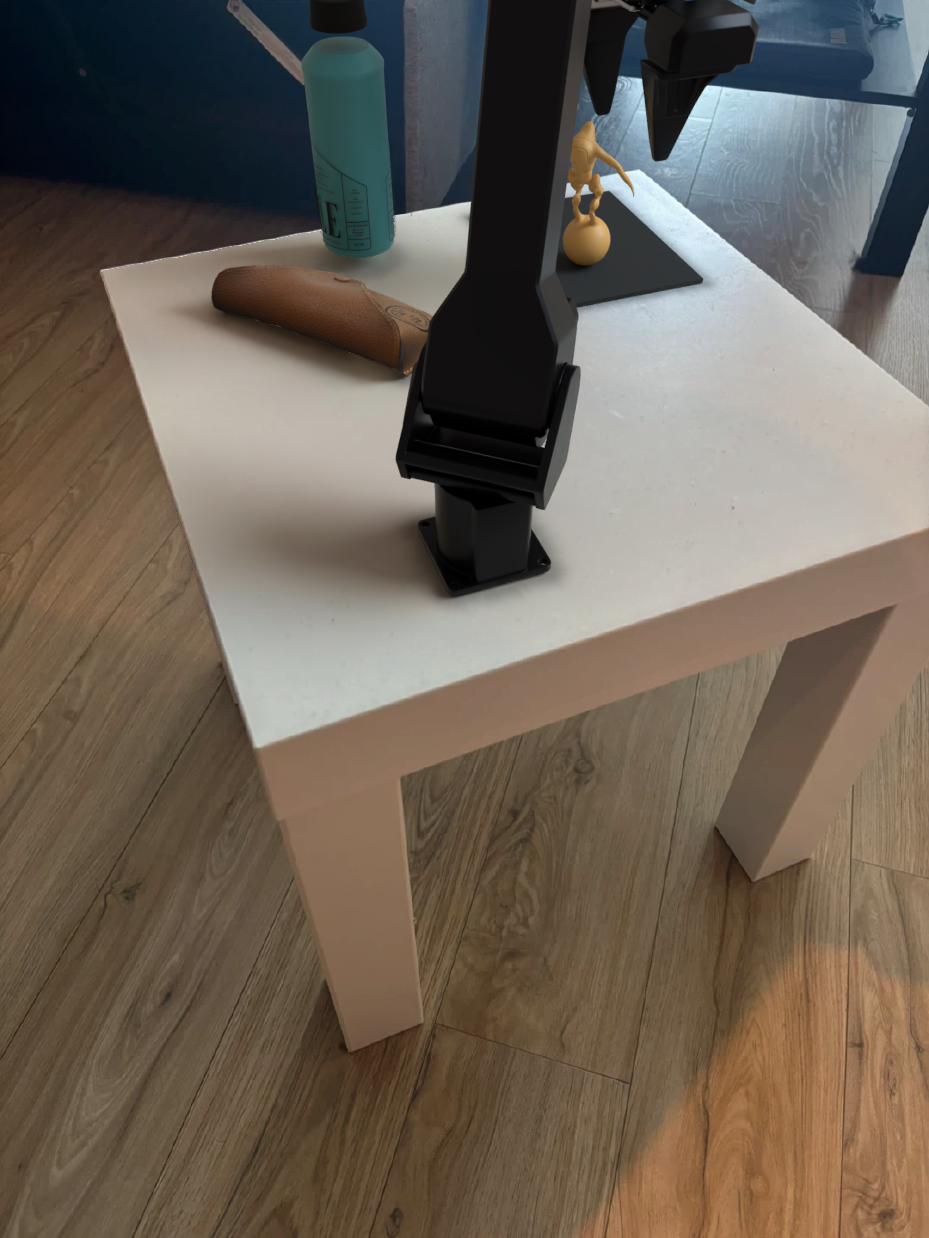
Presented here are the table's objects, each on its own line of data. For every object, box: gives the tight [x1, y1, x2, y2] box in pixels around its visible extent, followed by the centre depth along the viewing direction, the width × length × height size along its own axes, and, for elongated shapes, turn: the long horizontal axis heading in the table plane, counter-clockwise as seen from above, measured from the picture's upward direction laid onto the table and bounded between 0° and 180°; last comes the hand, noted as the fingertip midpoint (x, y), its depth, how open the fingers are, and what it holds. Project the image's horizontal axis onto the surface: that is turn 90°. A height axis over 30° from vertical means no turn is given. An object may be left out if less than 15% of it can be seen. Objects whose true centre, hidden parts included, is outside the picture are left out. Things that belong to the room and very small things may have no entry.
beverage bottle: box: [300, 0, 398, 259], centre depth 74 cm, size 6×7×20 cm
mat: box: [555, 190, 704, 308], centre depth 83 cm, size 18×14×1 cm
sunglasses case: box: [210, 264, 433, 377], centre depth 73 cm, size 18×7×7 cm, turn 60°
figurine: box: [563, 120, 635, 266], centre depth 75 cm, size 8×6×12 cm
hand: (629, 136), depth 70 cm, fingers open, 9 cm apart
